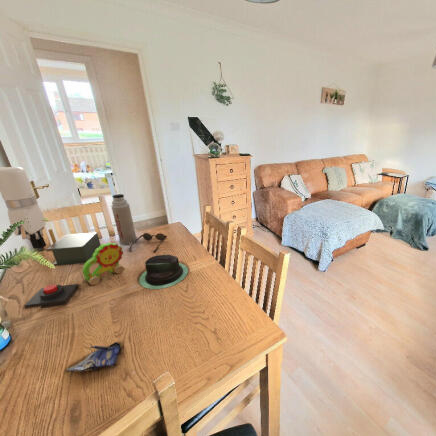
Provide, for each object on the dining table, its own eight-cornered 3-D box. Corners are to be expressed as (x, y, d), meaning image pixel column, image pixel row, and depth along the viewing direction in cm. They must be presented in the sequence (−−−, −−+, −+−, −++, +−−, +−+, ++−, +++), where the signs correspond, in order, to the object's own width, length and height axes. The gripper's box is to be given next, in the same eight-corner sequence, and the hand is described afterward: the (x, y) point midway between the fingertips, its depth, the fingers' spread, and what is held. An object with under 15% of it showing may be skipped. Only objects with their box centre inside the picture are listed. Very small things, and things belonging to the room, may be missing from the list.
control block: (26, 310, 87) (22, 301, 86) (43, 292, 96) (39, 284, 94) (66, 304, 91) (63, 296, 89) (79, 288, 100) (76, 280, 98)
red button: (42, 294, 90) (41, 291, 89) (48, 288, 93) (46, 285, 92) (54, 293, 91) (52, 289, 90) (59, 287, 94) (58, 283, 93)
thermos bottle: (124, 246, 132) (112, 198, 122) (117, 241, 137) (106, 195, 126) (139, 241, 139) (129, 195, 128) (132, 237, 143) (122, 192, 132)
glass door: (56, 255, 119) (47, 230, 114) (64, 248, 125) (56, 224, 120) (64, 254, 120) (55, 229, 115) (72, 247, 126) (64, 223, 121)
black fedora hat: (134, 292, 97) (138, 268, 114) (180, 299, 108) (178, 276, 124) (149, 261, 96) (151, 240, 112) (194, 271, 106) (190, 251, 123)
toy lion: (91, 287, 100) (81, 256, 95) (84, 283, 102) (74, 252, 97) (129, 268, 114) (122, 240, 108) (122, 265, 116) (115, 237, 110)
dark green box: (52, 266, 112) (45, 249, 109) (70, 249, 126) (64, 234, 123) (87, 262, 117) (82, 246, 113) (101, 246, 131) (97, 232, 127)
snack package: (92, 345, 76) (58, 381, 65) (90, 330, 73) (55, 365, 63) (130, 351, 77) (104, 388, 66) (130, 336, 74) (103, 372, 64)
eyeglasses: (167, 240, 141) (166, 232, 140) (155, 253, 128) (154, 244, 126) (142, 239, 140) (140, 232, 139) (127, 252, 127) (125, 244, 125)
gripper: (22, 196, 91) (39, 239, 98) (-9, 210, 78) (13, 258, 85) (47, 195, 93) (62, 237, 100) (21, 208, 80) (40, 255, 87)
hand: (40, 247), depth 92 cm, fingers closed
